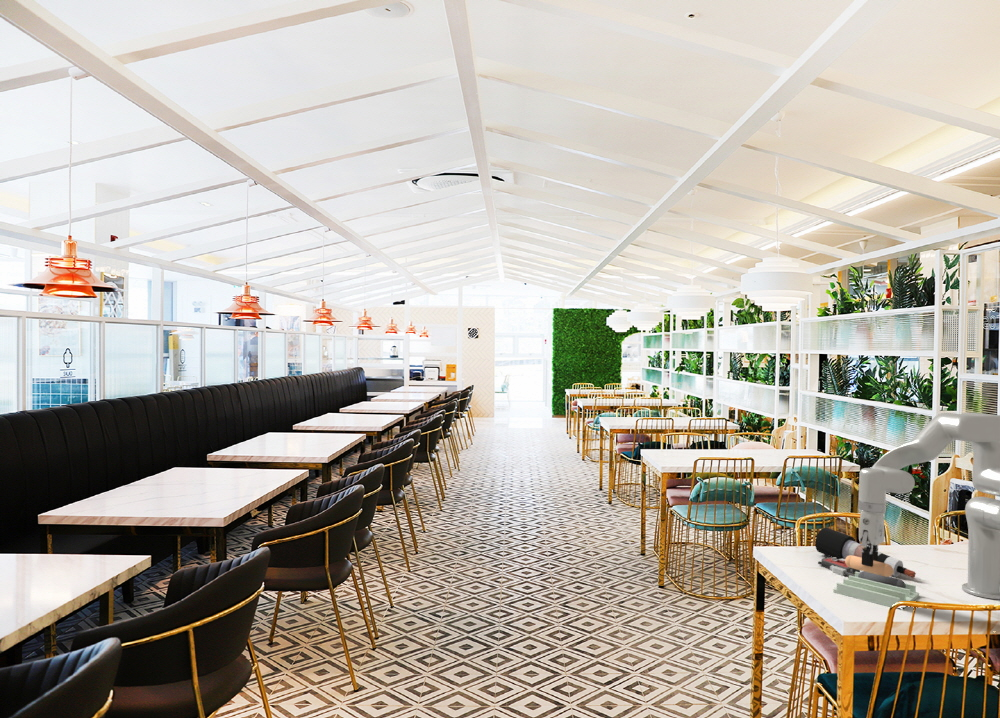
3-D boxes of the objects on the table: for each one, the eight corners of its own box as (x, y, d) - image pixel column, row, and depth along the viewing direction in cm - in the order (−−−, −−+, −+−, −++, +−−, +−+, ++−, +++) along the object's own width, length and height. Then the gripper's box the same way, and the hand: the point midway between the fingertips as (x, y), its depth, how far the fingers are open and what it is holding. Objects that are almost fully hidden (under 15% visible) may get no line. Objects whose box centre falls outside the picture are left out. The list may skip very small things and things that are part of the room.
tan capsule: (894, 576, 204) (895, 564, 204) (890, 579, 201) (891, 566, 201) (847, 564, 214) (847, 552, 214) (842, 567, 211) (843, 555, 211)
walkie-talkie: (813, 566, 240) (863, 584, 222) (813, 555, 240) (863, 571, 222) (829, 564, 244) (880, 580, 225) (829, 552, 244) (880, 568, 225)
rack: (919, 596, 210) (919, 586, 210) (902, 610, 198) (902, 599, 198) (852, 580, 225) (852, 570, 225) (833, 592, 212) (833, 582, 212)
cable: (908, 594, 224) (904, 571, 221) (817, 557, 254) (813, 536, 250) (923, 577, 228) (919, 555, 225) (833, 543, 258) (828, 522, 255)
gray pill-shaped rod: (907, 591, 211) (907, 579, 211) (903, 594, 209) (903, 582, 209) (860, 580, 221) (860, 568, 222) (856, 583, 219) (856, 571, 219)
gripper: (876, 513, 199) (874, 572, 199) (892, 506, 211) (890, 562, 210) (849, 508, 205) (847, 566, 204) (867, 502, 216) (865, 556, 216)
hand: (869, 563), depth 207 cm, fingers closed on tan capsule, 3 cm apart
